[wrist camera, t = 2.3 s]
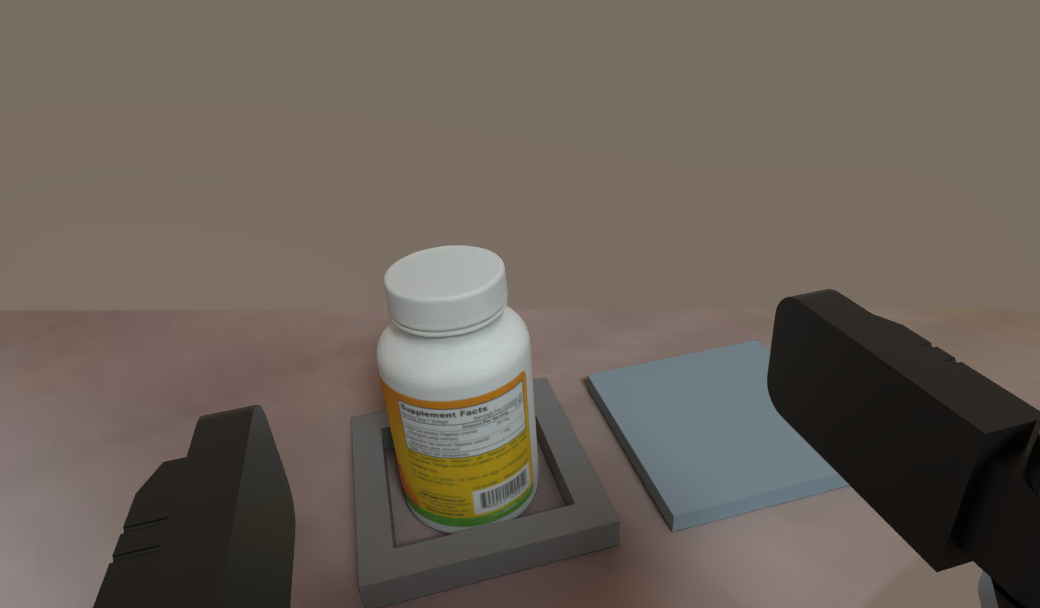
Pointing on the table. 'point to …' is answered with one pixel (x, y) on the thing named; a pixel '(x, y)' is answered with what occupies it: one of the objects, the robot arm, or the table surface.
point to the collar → (484, 548)
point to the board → (709, 435)
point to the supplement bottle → (458, 389)
